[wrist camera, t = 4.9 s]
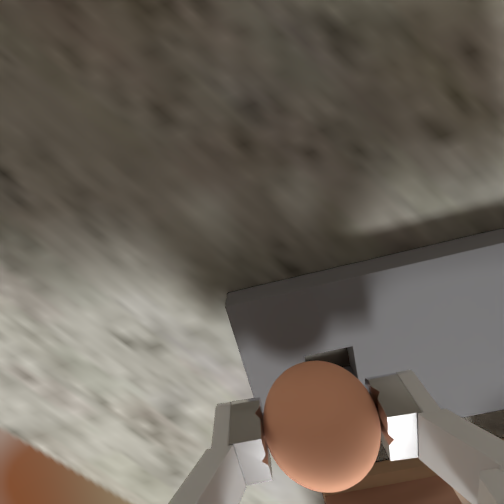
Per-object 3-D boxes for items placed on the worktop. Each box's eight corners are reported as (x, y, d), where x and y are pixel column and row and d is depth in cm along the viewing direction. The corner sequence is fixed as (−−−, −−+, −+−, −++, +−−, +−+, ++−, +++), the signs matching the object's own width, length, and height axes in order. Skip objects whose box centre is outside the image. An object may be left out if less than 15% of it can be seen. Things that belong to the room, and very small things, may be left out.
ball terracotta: (251, 349, 11) (254, 443, 7) (351, 329, 11) (401, 418, 7) (270, 422, 12) (279, 531, 9) (360, 406, 12) (406, 511, 9)
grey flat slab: (227, 293, 13) (225, 307, 12) (655, 192, 12) (699, 197, 11) (270, 431, 15) (271, 454, 14) (625, 360, 14) (658, 378, 13)
